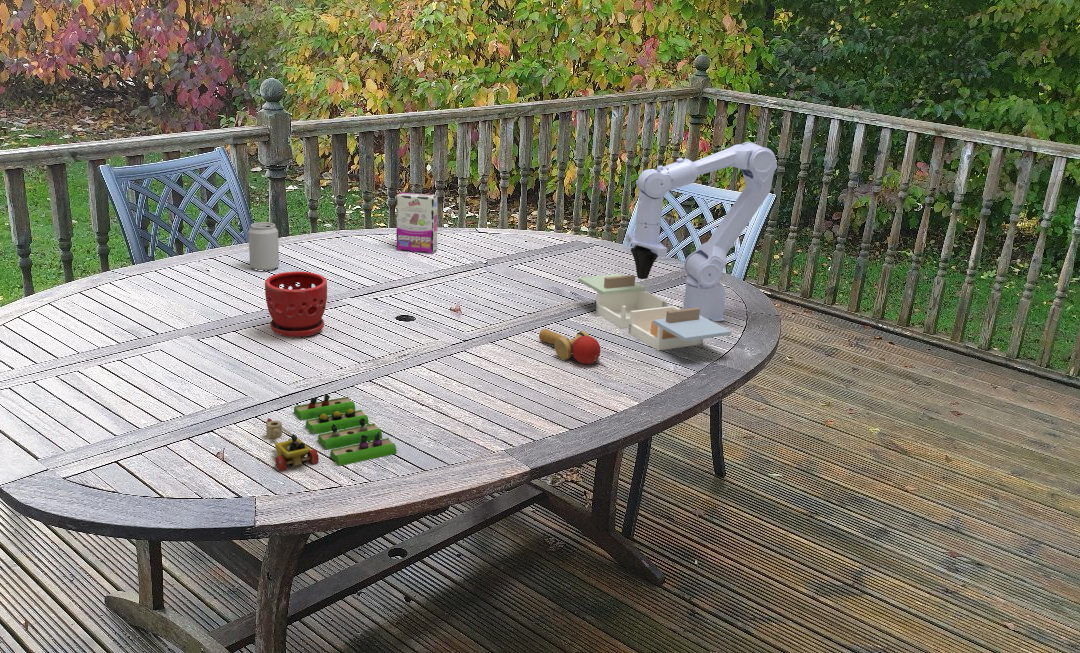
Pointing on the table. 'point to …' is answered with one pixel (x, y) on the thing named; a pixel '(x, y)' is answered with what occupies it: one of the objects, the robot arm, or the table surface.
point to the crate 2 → (642, 329)
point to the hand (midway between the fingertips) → (642, 278)
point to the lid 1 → (612, 283)
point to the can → (263, 246)
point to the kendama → (573, 346)
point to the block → (655, 329)
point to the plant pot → (296, 303)
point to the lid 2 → (690, 325)
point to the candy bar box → (416, 222)
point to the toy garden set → (331, 434)
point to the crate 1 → (625, 305)
